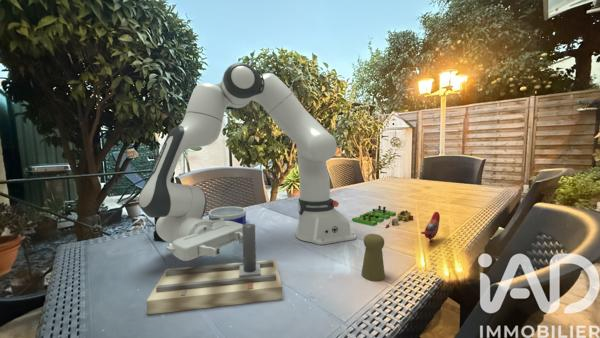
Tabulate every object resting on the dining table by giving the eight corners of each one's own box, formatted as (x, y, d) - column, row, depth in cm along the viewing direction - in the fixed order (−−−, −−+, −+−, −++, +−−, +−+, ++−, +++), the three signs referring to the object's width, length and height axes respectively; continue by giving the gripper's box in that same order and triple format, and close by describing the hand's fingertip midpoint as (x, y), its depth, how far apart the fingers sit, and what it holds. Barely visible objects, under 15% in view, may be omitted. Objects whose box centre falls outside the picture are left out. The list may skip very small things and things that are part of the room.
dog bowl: (253, 222, 118) (253, 209, 117) (226, 233, 105) (226, 217, 104) (228, 217, 126) (228, 204, 125) (201, 226, 113) (200, 212, 112)
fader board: (275, 269, 74) (275, 256, 74) (282, 299, 61) (281, 282, 60) (167, 280, 69) (166, 265, 69) (147, 314, 56) (145, 296, 55)
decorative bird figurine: (441, 237, 99) (443, 211, 98) (425, 252, 86) (426, 222, 85) (433, 235, 101) (434, 209, 99) (415, 250, 88) (417, 220, 87)
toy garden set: (376, 212, 136) (376, 203, 135) (414, 219, 123) (415, 209, 122) (351, 222, 119) (351, 212, 118) (394, 232, 106) (394, 221, 106)
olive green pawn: (358, 270, 74) (359, 231, 73) (379, 269, 75) (380, 231, 73) (365, 281, 68) (366, 240, 67) (388, 280, 69) (390, 239, 67)
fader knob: (259, 267, 69) (258, 221, 68) (260, 277, 64) (259, 228, 63) (239, 269, 68) (238, 223, 67) (239, 279, 63) (237, 229, 62)
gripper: (161, 235, 67) (196, 247, 59) (225, 216, 84) (258, 223, 77) (162, 259, 68) (197, 274, 60) (225, 235, 85) (258, 244, 77)
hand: (232, 245), depth 68 cm, fingers open, 8 cm apart
